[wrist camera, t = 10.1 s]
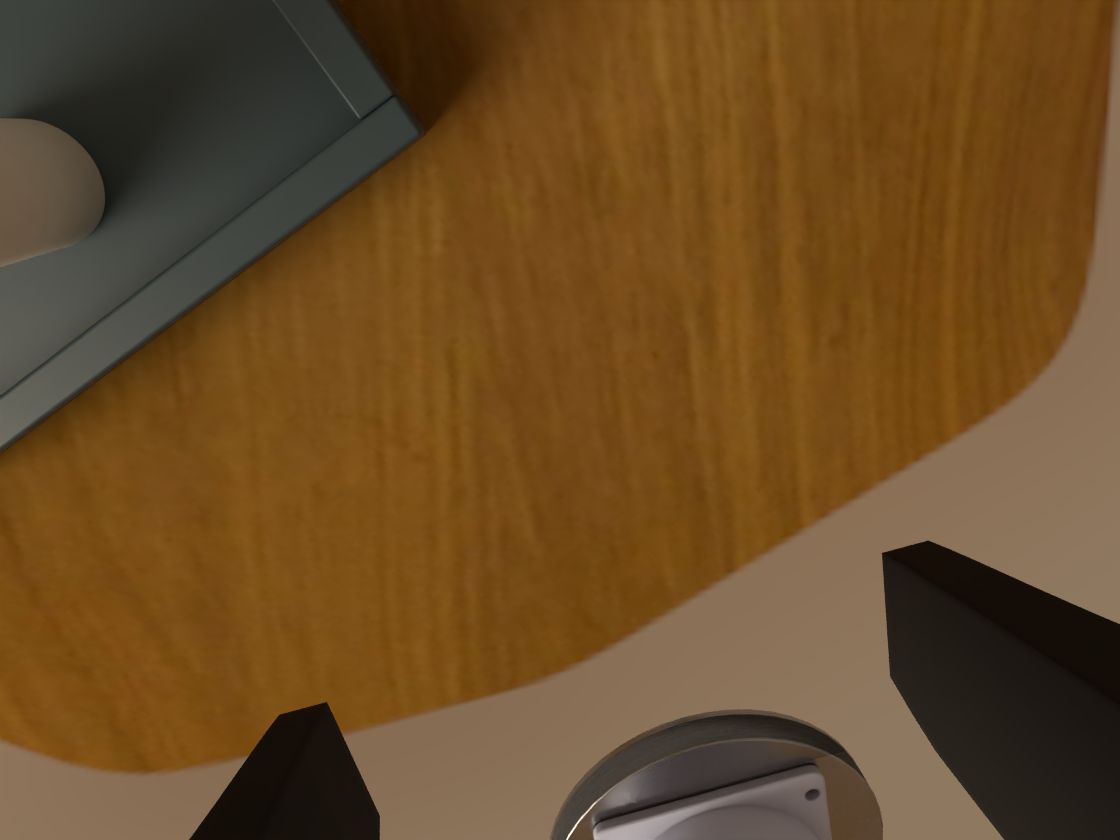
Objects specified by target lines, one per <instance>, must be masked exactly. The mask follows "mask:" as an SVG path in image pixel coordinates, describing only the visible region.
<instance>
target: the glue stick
mask: <svg viewBox="0 0 1120 840" xmlns="http://www.w3.org/2000/svg"><path fill="white" fill-rule="evenodd" d="M104 206H105V191H104V185H103V181H102V177H101V175H100V172H99V170H98V168H97V166H96V164H95V162H94V161H93V159H92V158H91V156H90V155H89V154H88V152H87V151H86V150H85V149H84V148H83V147H82V146H81V145H80V144H79V143H78V142H77V141H76V140H75V139H74V138H72V137H71V136H70V135H68V134H67V133H65V132H64V131H62V130H60V129H59V128H56V127H54V126H52V125H50V124H47V123H44V122H41V121H37V120H32V119H13V118H0V267H2V266H6V265H9V264H12V263H15V262H19V261H22V260H25V259H28V258H32V257H35V256H38V255H42V254H45V253H48V252H51V251H55V250H58V249H61V248H65V247H68V246H71V245H74V244H76V243H78V242H80V241H82V240H84V239H85V238H87V237H88V236H89V235H90V234H91V233H92V232H93V231H94V230H95V228H96V227H97V226H98V224H99V222H100V220H101V218H102V215H103V212H104Z"/></svg>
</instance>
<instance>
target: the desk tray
mask: <svg viewBox="0 0 1120 840" xmlns="http://www.w3.org/2000/svg"><path fill="white" fill-rule="evenodd" d="M0 118H13V119H32V120H37V121H41V122H44V123H47V124H50V125H52V126H54V127H56V128H59V129H60V130H62V131H64V132H65V133H67V134H68V135H70V136H71V137H72V138H74V139H75V140H76V141H77V142H78V143H79V144H80V145H81V146H82V147H83V148H84V149H85V150H86V151H87V152H88V154H89V155H90V156H91V158H92V159H93V161H94V162H95V164H96V166H97V168H98V170H99V172H100V175H101V177H102V181H103V185H104V191H105V206H104V212H103V215H102V218H101V220H100V222H99V224H98V226H97V227H96V228H95V230H94V231H93V232H92V233H91V234H90V235H89V236H88V237H87V238H85V239H84V240H82V241H80V242H78V243H76V244H74V245H71V246H68V247H65V248H61V249H58V250H55V251H51V252H48V253H45V254H42V255H38V256H35V257H32V258H28V259H25V260H22V261H19V262H15V263H12V264H9V265H6V266H2V267H0V454H1V453H2V452H4V451H5V450H6V449H8V448H9V447H10V446H12V445H13V444H14V443H16V442H17V441H18V440H20V439H21V438H22V437H24V436H25V435H26V434H27V433H29V432H30V431H31V430H33V429H34V428H35V427H37V426H38V425H39V424H41V423H42V422H43V421H45V420H46V419H47V418H49V417H50V416H51V415H53V414H54V413H55V412H57V411H58V410H59V409H61V408H62V407H63V406H65V405H66V404H67V403H69V402H70V401H71V400H73V399H74V398H75V397H77V396H78V395H79V394H81V393H82V392H83V391H85V390H86V389H87V388H89V387H90V386H91V385H93V384H94V383H95V382H97V381H98V380H99V379H101V378H102V377H103V376H105V375H106V374H107V373H109V372H110V371H111V370H113V369H114V368H115V367H117V366H118V365H119V364H121V363H122V362H123V361H125V360H126V359H127V358H129V357H130V356H131V355H133V354H134V353H135V352H137V351H138V350H139V349H141V348H142V347H143V346H145V345H146V344H147V343H149V342H150V341H151V340H153V339H154V338H155V337H157V336H158V335H159V334H161V333H162V332H163V331H165V330H166V329H167V328H169V327H170V326H171V325H173V324H174V323H175V322H177V321H178V320H179V319H181V318H182V317H183V316H185V315H186V314H187V313H189V312H190V311H191V310H193V309H194V308H195V307H197V306H198V305H199V304H201V303H202V302H203V301H205V300H206V299H207V298H209V297H210V296H211V295H213V294H214V293H215V292H217V291H218V290H219V289H221V288H222V287H223V286H225V285H226V284H227V283H229V282H230V281H231V280H233V279H234V278H235V277H237V276H238V275H239V274H241V273H242V272H243V271H245V270H246V269H247V268H249V267H250V266H251V265H253V264H254V263H255V262H257V261H258V260H259V259H261V258H262V257H263V256H265V255H266V254H267V253H269V252H270V251H271V250H273V249H274V248H275V247H277V246H278V245H279V244H281V243H282V242H283V241H285V240H286V239H287V238H289V237H290V236H291V235H293V234H294V233H295V232H297V231H298V230H299V229H301V228H302V227H303V226H305V225H306V224H307V223H309V222H310V221H311V220H313V219H314V218H315V217H317V216H318V215H319V214H321V213H322V212H323V211H325V210H326V209H327V208H329V207H330V206H331V205H333V204H334V203H335V202H337V201H338V200H339V199H341V198H342V197H343V196H345V195H346V194H347V193H349V192H350V191H351V190H353V189H354V188H355V187H357V186H358V185H359V184H361V183H362V182H363V181H365V180H366V179H367V178H369V177H370V176H371V175H373V174H374V173H375V172H377V171H378V170H379V169H381V168H382V167H383V166H385V165H386V164H387V163H389V162H390V161H391V160H393V159H394V158H395V157H397V156H398V155H399V154H401V153H402V152H403V151H404V150H406V149H407V148H408V147H410V146H411V145H412V144H414V143H415V142H416V141H418V140H419V139H420V138H422V137H423V136H424V135H426V133H427V132H426V129H425V128H424V127H423V125H422V124H421V122H420V121H419V119H418V118H417V117H416V115H415V114H414V112H413V111H412V109H411V108H410V107H409V105H408V104H407V102H406V101H405V99H404V98H403V97H402V95H401V94H400V92H399V91H398V89H397V88H396V87H395V85H394V84H393V82H392V81H391V79H390V78H389V77H388V75H387V74H386V72H385V71H384V69H383V68H382V67H381V65H380V64H379V62H378V61H377V59H376V58H375V57H374V55H373V54H372V52H371V51H370V49H369V48H368V47H367V45H366V44H365V42H364V41H363V39H362V38H361V37H360V35H359V34H358V32H357V31H356V29H355V28H354V27H353V25H352V24H351V22H350V21H349V19H348V18H347V17H346V15H345V14H344V12H343V11H342V9H341V8H340V7H339V5H338V4H337V2H336V1H335V0H0Z"/></svg>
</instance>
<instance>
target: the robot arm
mask: <svg viewBox="0 0 1120 840" xmlns="http://www.w3.org/2000/svg"><path fill="white" fill-rule="evenodd" d="M882 560H883V575H884V590H885V604H886V620H887V635H888V649H889V664H890V676H891V679H892V680H893V682H894V684H895V685H896V687H897V689H898V690H899V692H900V694H901V696H902V697H903V699H904V700H905V702H906V704H907V706H908V707H909V709H910V711H911V712H912V714H913V716H914V717H915V719H916V721H917V722H918V724H919V725H920V727H921V729H922V730H923V732H924V733H925V735H926V736H927V738H928V740H929V741H930V743H931V744H932V746H933V748H934V749H935V751H936V752H937V753H938V755H939V756H940V757H941V759H942V760H943V761H944V762H945V764H946V765H947V767H948V768H949V769H950V770H951V772H952V773H953V774H954V776H955V777H956V778H957V779H958V781H959V782H960V783H961V785H962V786H963V787H964V789H965V790H966V791H967V792H968V794H969V795H970V796H971V798H972V799H973V800H974V801H975V803H976V804H977V805H978V807H979V808H980V809H981V810H982V812H983V813H984V814H985V816H986V817H987V818H988V819H989V821H990V822H991V823H992V824H993V826H994V827H995V828H996V830H997V831H998V832H999V833H1000V835H1001V836H1002V837H1003V838H1004V840H1120V624H1118V623H1116V622H1113V621H1111V620H1108V619H1106V618H1104V617H1101V616H1099V615H1097V614H1094V613H1092V612H1090V611H1088V610H1085V609H1083V608H1081V607H1078V606H1076V605H1073V604H1071V603H1069V602H1067V601H1065V600H1062V599H1060V598H1058V597H1056V596H1053V595H1051V594H1049V593H1046V592H1044V591H1042V590H1040V589H1037V588H1035V587H1033V586H1031V585H1029V584H1026V583H1024V582H1022V581H1020V580H1017V579H1015V578H1013V577H1011V576H1009V575H1006V574H1004V573H1002V572H1000V571H998V570H995V569H993V568H991V567H989V566H986V565H984V564H982V563H980V562H977V561H975V560H973V559H971V558H968V557H966V556H964V555H961V554H959V553H957V552H955V551H952V550H950V549H948V548H945V547H943V546H940V545H938V544H935V543H933V542H930V541H925V542H922V543H918V544H914V545H910V546H906V547H903V548H899V549H895V550H892V551H888V552H884V553H882ZM379 831H380V816H379V813H378V811H377V809H376V807H375V805H374V802H373V800H372V798H371V796H370V794H369V792H368V790H367V787H366V785H365V783H364V781H363V779H362V777H361V774H360V773H359V770H358V768H357V766H356V764H355V762H354V759H353V757H352V756H351V753H350V751H349V749H348V746H347V744H346V742H345V740H344V738H343V736H342V734H341V731H340V729H339V727H338V725H337V723H336V721H335V718H334V716H333V714H332V712H331V710H330V708H329V706H328V703H327V702H325V703H322V704H318V705H314V706H310V707H307V708H303V709H299V710H296V711H292V712H288V713H284V714H281V715H279V716H278V717H277V719H276V720H275V721H274V722H273V724H272V725H271V726H270V728H269V729H268V730H267V732H266V733H265V734H264V736H263V737H262V739H261V740H260V741H259V743H258V744H257V746H256V747H255V748H254V750H253V751H252V753H251V754H250V755H249V757H248V758H247V760H246V761H245V762H244V764H243V765H242V767H241V768H240V770H239V771H238V772H237V774H236V775H235V777H234V778H233V779H232V781H231V782H230V784H229V785H228V786H227V788H226V789H225V791H224V792H223V794H222V795H221V796H220V798H219V799H218V801H217V802H216V804H215V805H214V807H213V808H212V809H211V810H210V812H209V813H208V815H207V816H206V817H205V819H204V820H203V822H202V823H201V824H200V826H199V827H198V829H197V830H196V831H195V833H194V834H193V836H192V837H191V838H190V839H189V840H380V838H379V837H380V832H379ZM593 838H594V840H832V837H831V828H830V820H829V812H828V803H827V795H826V787H825V779H824V777H823V775H822V773H821V771H820V769H819V768H818V767H816V766H814V765H804V766H801V767H797V768H794V769H790V770H786V771H783V772H779V773H775V774H772V775H768V776H764V777H761V778H757V779H754V780H750V781H746V782H743V783H739V784H735V785H732V786H728V787H724V788H721V789H717V790H714V791H710V792H706V793H703V794H699V795H695V796H692V797H688V798H684V799H681V800H677V801H674V802H670V803H666V804H663V805H659V806H655V807H652V808H648V809H644V810H641V811H637V812H634V813H630V814H626V815H623V816H619V817H615V818H612V819H608V820H604V821H602V822H600V823H599V824H597V825H596V826H595V828H594V830H593Z"/></svg>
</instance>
